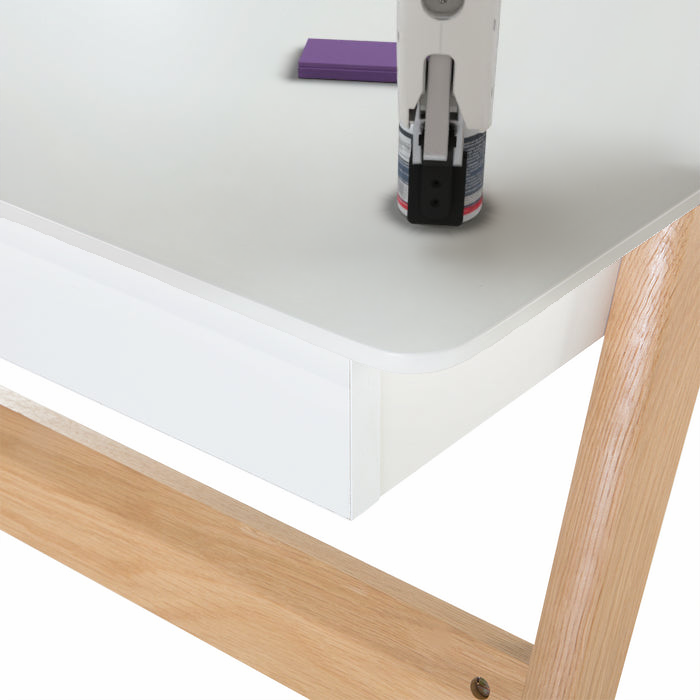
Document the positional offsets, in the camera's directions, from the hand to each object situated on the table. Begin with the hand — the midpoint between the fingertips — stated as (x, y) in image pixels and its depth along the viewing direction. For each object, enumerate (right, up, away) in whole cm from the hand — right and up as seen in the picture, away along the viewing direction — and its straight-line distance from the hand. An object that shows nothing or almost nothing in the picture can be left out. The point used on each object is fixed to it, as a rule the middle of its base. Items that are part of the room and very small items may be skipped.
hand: (435, 218), depth 71 cm
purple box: (-3, +14, +25) cm, 29 cm away
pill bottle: (+1, +1, +6) cm, 6 cm away
